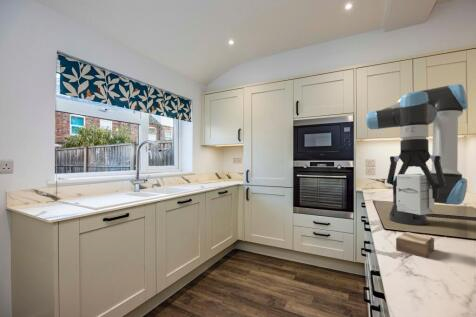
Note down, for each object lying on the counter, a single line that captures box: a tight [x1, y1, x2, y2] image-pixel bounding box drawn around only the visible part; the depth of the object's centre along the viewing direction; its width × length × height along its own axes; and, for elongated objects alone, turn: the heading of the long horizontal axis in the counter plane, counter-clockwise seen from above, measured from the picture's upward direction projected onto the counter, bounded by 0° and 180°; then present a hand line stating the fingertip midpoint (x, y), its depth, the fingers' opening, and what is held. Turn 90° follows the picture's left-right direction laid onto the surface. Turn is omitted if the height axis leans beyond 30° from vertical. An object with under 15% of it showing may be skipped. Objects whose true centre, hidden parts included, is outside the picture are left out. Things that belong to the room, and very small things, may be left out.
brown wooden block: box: [395, 231, 435, 259], centre depth 77 cm, size 10×8×4 cm
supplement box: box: [396, 173, 434, 215], centre depth 77 cm, size 7×7×13 cm
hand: (414, 206), depth 77 cm, fingers closed on supplement box, 8 cm apart
